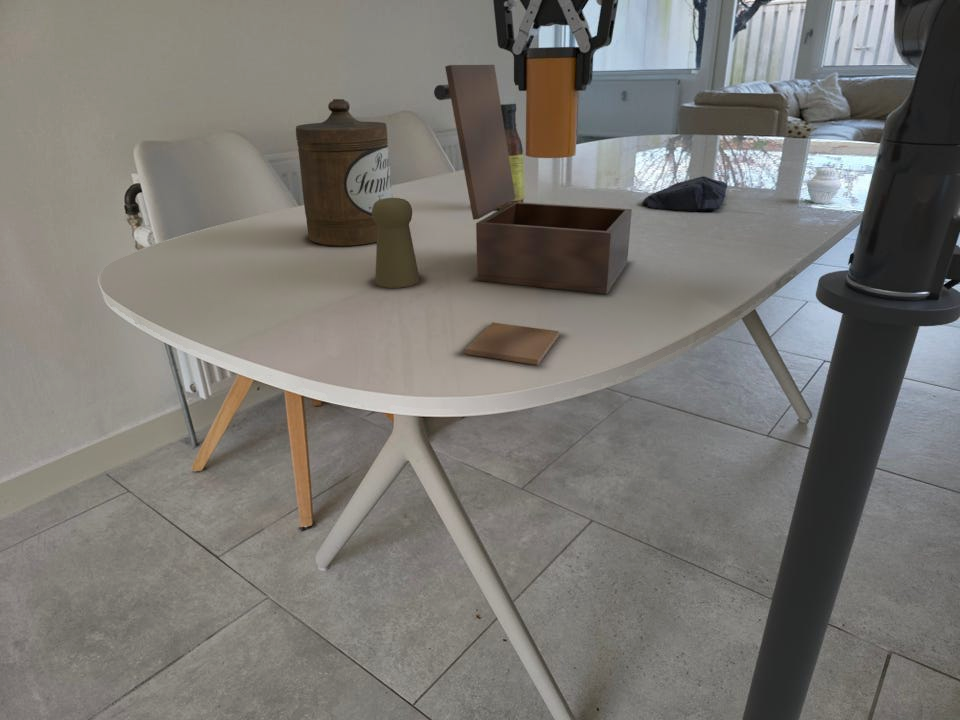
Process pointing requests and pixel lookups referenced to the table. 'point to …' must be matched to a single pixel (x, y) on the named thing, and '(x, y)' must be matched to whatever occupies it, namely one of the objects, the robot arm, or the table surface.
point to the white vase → (823, 186)
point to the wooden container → (343, 176)
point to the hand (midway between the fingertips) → (552, 90)
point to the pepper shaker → (394, 244)
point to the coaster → (513, 343)
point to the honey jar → (551, 102)
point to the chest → (554, 246)
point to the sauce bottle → (513, 151)
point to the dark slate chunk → (690, 195)
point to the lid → (480, 135)
